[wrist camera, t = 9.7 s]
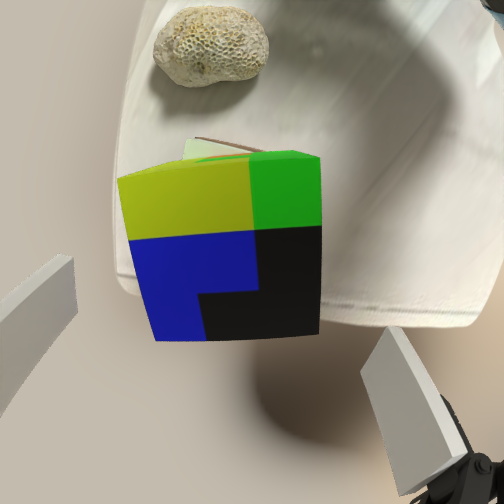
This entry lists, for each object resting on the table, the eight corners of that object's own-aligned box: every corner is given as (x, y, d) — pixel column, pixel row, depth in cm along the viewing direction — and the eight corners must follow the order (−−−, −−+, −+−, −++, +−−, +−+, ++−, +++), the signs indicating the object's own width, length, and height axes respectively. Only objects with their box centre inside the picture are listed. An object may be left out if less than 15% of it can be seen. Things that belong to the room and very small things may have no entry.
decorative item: (265, -14, 20) (280, 42, 20) (257, 36, 29) (267, 94, 28) (149, -5, 19) (137, 55, 19) (161, 44, 28) (157, 104, 27)
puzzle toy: (187, 272, 26) (155, 341, 17) (170, 161, 22) (116, 178, 13) (297, 264, 26) (318, 334, 16) (293, 150, 22) (319, 157, 13)
